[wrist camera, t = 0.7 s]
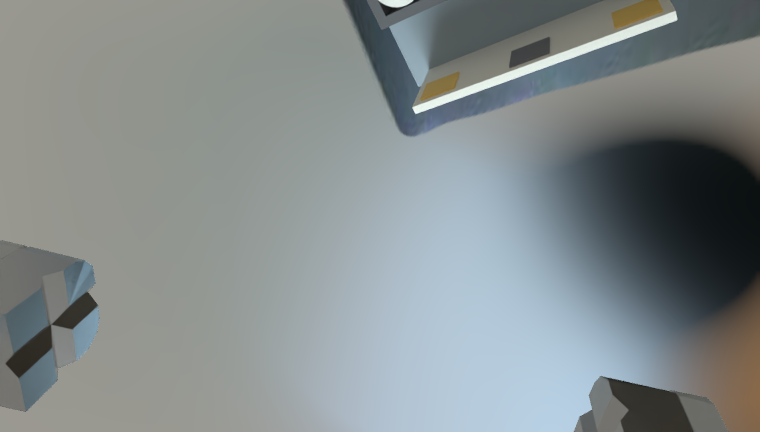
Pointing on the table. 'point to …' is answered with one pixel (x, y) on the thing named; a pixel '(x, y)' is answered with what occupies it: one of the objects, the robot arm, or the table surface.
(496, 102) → the table surface
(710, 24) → the table surface
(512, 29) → the button board
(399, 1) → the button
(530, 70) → the pattern card
